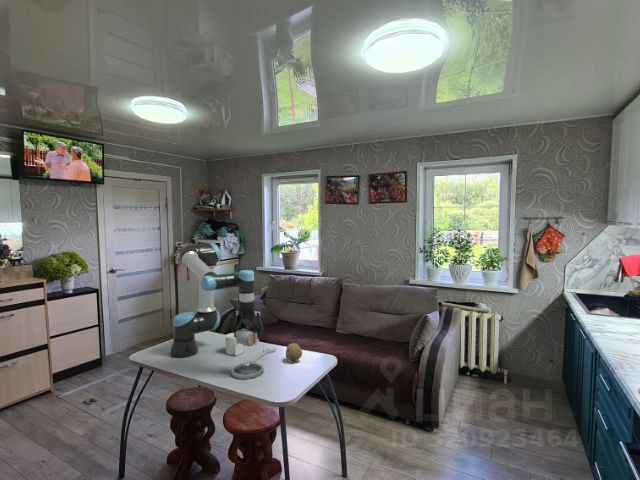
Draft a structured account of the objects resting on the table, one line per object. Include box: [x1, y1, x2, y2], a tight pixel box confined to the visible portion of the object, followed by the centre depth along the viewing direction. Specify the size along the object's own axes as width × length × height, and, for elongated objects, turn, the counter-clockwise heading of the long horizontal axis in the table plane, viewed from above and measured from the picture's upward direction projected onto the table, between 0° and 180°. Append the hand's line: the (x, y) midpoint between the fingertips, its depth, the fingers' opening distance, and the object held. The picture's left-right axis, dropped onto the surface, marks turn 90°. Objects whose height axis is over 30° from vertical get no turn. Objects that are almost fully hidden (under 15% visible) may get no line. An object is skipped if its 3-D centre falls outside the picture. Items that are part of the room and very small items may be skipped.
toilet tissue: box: [225, 332, 245, 357], centre depth 200 cm, size 11×12×10 cm
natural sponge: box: [285, 342, 303, 362], centre depth 186 cm, size 9×9×10 cm
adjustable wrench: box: [246, 347, 276, 363], centre depth 193 cm, size 25×6×2 cm, turn 151°
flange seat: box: [230, 362, 265, 380], centre depth 171 cm, size 16×16×2 cm
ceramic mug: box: [236, 328, 256, 347], centre depth 172 cm, size 11×8×8 cm
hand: (247, 344), depth 171 cm, fingers closed on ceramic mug, 10 cm apart
